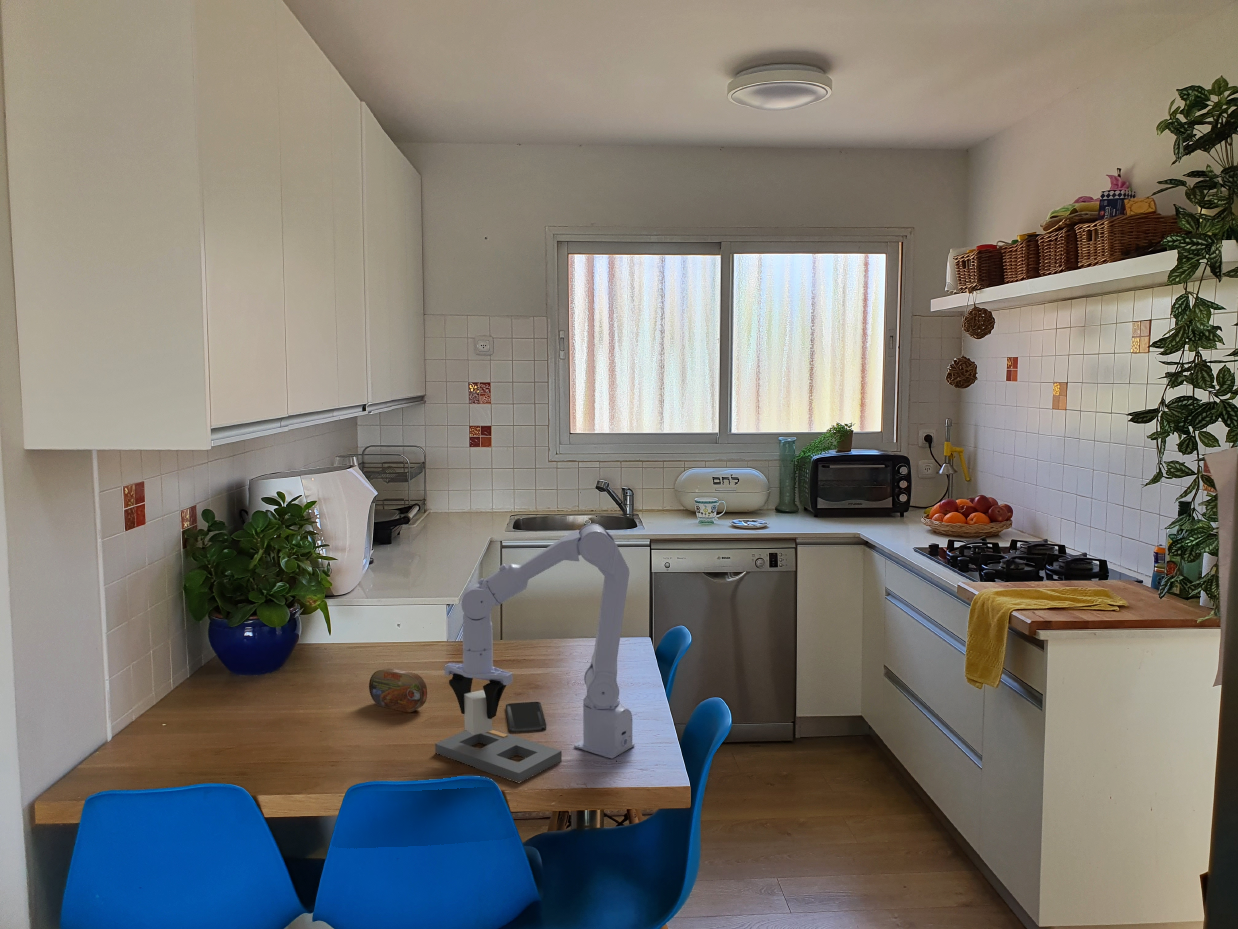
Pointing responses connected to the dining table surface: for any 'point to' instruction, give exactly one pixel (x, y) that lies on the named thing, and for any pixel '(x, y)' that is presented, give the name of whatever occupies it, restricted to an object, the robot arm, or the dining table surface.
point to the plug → (476, 713)
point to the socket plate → (499, 753)
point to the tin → (398, 690)
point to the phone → (525, 717)
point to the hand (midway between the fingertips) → (478, 714)
